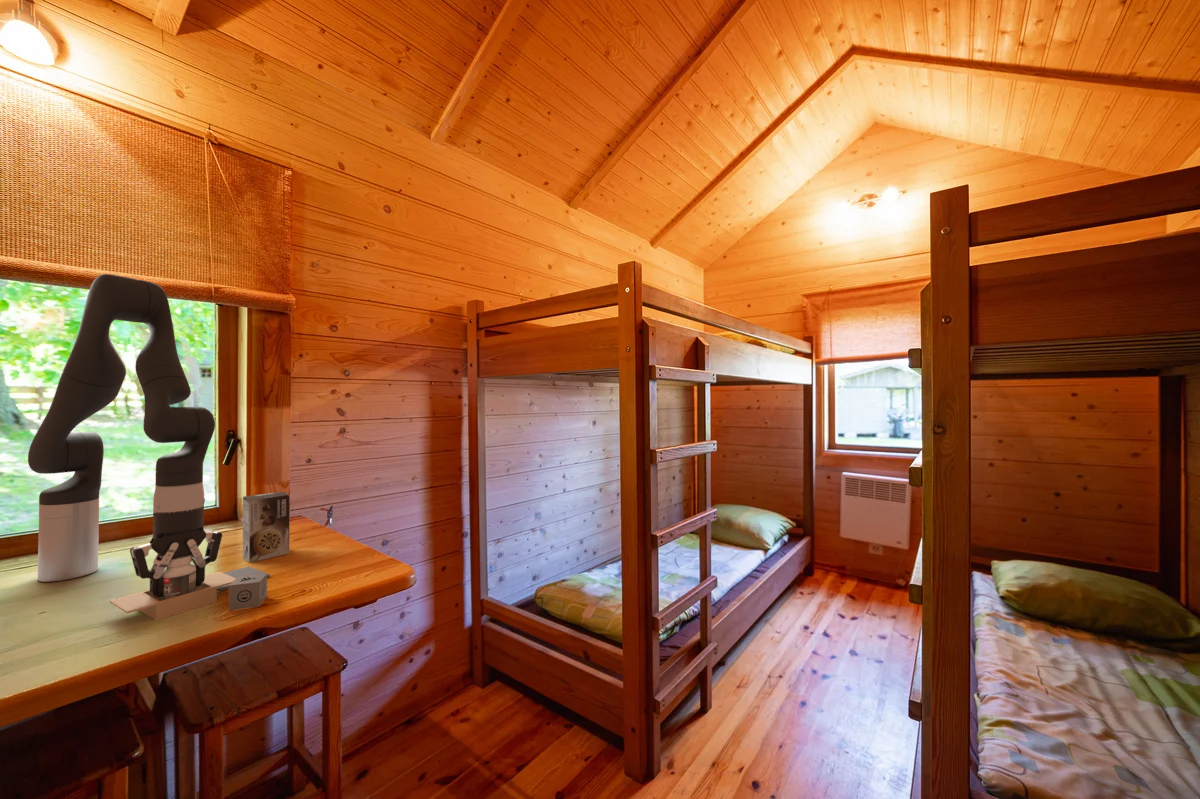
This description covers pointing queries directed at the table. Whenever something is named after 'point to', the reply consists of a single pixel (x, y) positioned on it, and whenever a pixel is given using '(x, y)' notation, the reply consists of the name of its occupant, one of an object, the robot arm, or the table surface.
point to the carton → (174, 599)
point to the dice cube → (247, 591)
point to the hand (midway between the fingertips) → (177, 590)
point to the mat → (241, 572)
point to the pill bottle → (178, 578)
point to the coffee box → (265, 526)
